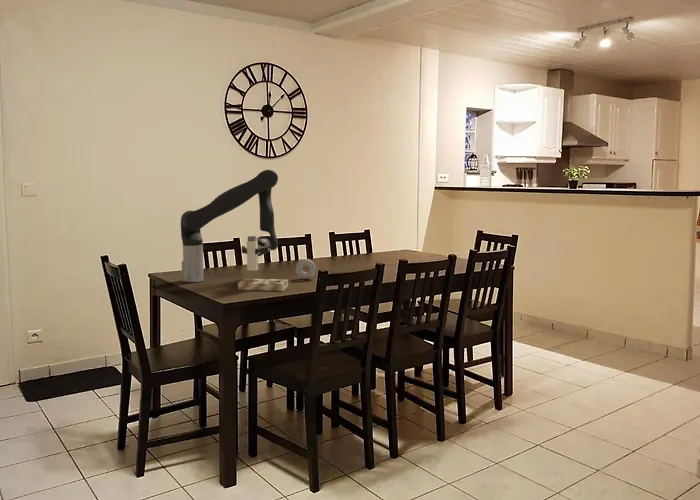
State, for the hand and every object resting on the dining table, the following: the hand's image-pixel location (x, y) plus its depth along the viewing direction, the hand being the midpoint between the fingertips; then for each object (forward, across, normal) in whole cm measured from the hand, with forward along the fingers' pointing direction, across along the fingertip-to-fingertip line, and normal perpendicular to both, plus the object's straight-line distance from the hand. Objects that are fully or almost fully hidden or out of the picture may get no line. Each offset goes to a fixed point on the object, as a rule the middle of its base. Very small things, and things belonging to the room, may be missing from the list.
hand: (250, 251), depth 278 cm
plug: (-3, 0, +8) cm, 9 cm away
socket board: (-3, +5, +17) cm, 17 cm away
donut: (-29, +20, +17) cm, 39 cm away
